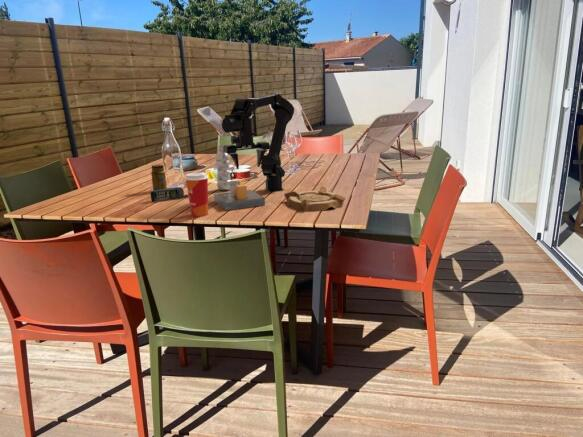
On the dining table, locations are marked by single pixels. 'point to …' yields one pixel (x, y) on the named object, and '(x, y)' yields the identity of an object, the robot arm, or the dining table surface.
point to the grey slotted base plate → (230, 200)
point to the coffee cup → (198, 193)
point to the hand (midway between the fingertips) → (248, 168)
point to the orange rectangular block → (241, 192)
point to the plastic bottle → (223, 169)
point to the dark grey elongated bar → (167, 194)
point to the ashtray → (314, 200)
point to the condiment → (158, 177)
